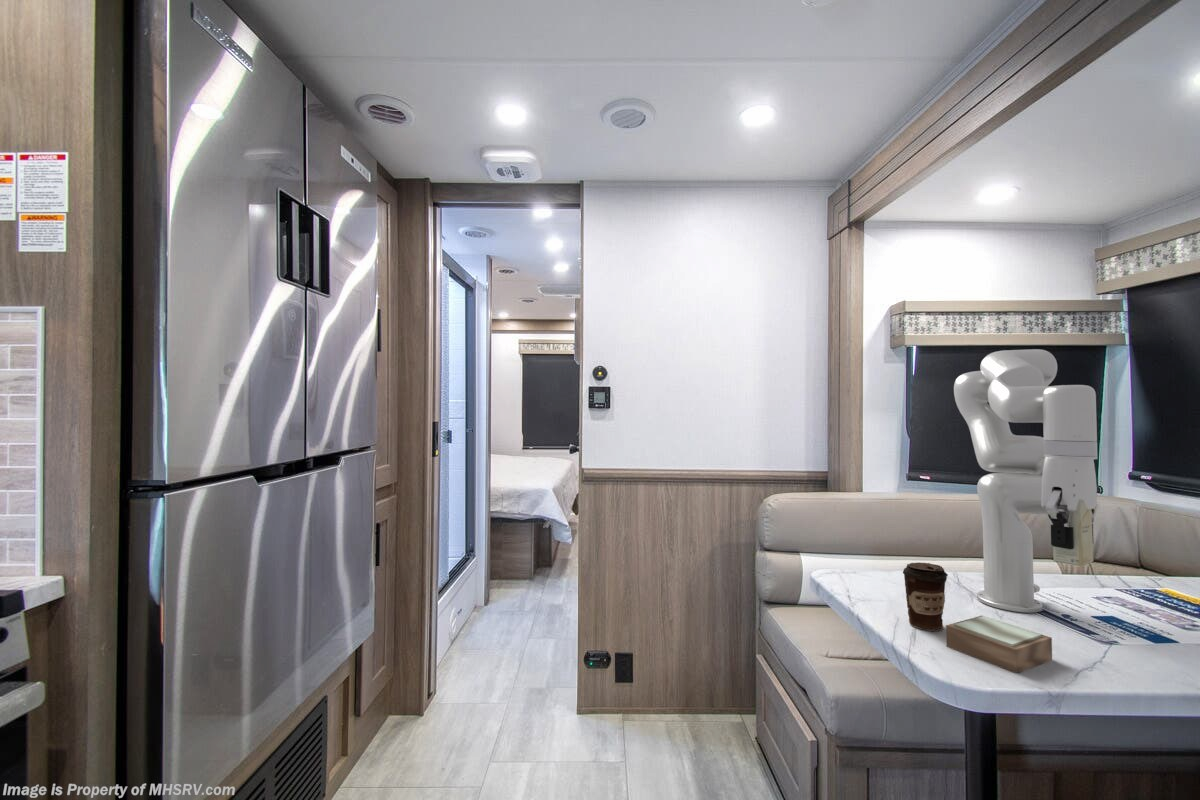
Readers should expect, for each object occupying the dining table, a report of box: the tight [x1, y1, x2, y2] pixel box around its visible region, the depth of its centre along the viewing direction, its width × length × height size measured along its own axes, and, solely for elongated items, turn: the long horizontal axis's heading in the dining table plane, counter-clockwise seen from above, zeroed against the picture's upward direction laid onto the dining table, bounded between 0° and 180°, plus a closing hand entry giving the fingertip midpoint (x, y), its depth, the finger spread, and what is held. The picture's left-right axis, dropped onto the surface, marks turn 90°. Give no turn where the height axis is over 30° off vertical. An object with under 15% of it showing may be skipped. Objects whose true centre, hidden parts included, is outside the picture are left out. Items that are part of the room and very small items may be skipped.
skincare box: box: [1052, 499, 1094, 567], centre depth 98 cm, size 6×4×12 cm
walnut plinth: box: [945, 615, 1053, 674], centre depth 100 cm, size 12×12×4 cm
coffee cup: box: [902, 562, 949, 632], centre depth 113 cm, size 9×8×13 cm
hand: (1072, 544), depth 98 cm, fingers closed on skincare box, 6 cm apart
